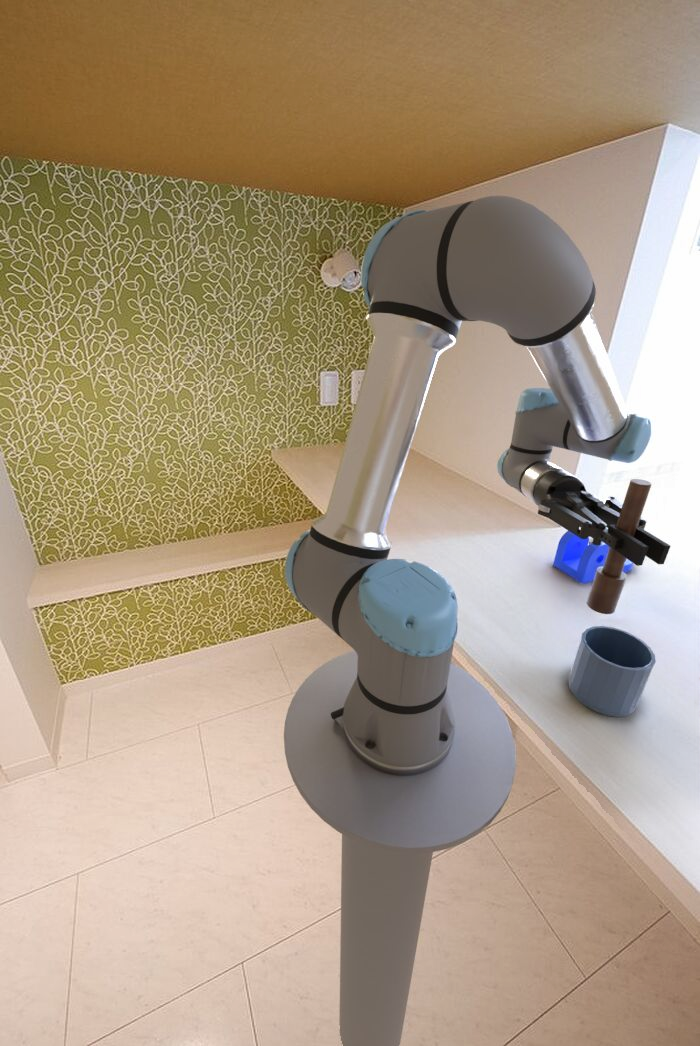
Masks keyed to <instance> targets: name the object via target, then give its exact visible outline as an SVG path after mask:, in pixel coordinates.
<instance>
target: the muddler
mask: <svg viewBox="0 0 700 1046" xmlns="http://www.w3.org/2000/svg"><path fill="white" fill-rule="evenodd" d="M652 484H653V483H652V482H650V481H648V480H645V479H639V478H631V479H630V480H629V484H628V486H627V490H626V493H625V497H624V500H623V503H622V504H623V506H622V509H621V512H620V515H619V519H618V522H617V525H616V526H617V527H618V528H620V529H621V530H623V531H624V532H626V533H628V534H629V535H631V536H632V537H634V535H635V532H636V529H637V526H638V523H639V520H640V517H642V515H643V511H644V509H645V505H646V503H647V499H648V497H649V493H650V490H651V488H652ZM626 559H627V558H625V557H624V556H623V555H621V554H620V553H618V552H617V551H616V550H614V549H613V548H611V547H609V550H608V554H607V557H606V560H605V563H604V566H601V567H598V568H597V570H596V574H595V577H594V580H593V581H592V583H591V587H590V591H589V594H588V597H587V600H586V605H587V607H588V608H589V609H590V610H592V611H594V612H595V613H597V614H601V615H612V614H615V612H616V609H617V606H618V603H619V599H620V598H621V594H622V591H623V589H624V585H625V583H626V580H627V574H626V572H625V573H624V572H622V571H623V568H624V565H625V562H626Z"/></svg>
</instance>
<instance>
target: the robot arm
mask: <svg viewBox="0 0 700 1046" xmlns="http://www.w3.org/2000/svg"><path fill="white" fill-rule="evenodd" d="M366 247H367V248H366V250H365V252H364V255H363V259H362V263H361V269H360V286H361V287H362V288H363V290H364V292H363V294H362V296H363V298H364V301H365V303H366V306H367V307H368V312H367V315H366V322H367V324H368V327H369V328H370V329H369V330H370V331H371V332H372V334H373V339H372V343H371V347H370V349H369V354H368V358H367V362H366V365H365V369H364V372H363V375H362V380H361V383H360V388H359V389H358V390H359V391H358V394H357V398H356V402H355V406H354V408H353V413H352V415H351V420H350V424H349V428H348V431H347V435H346V439H345V442H344V446H343V450H342V453H341V457H340V460H339V465H338V468H337V472H336V476H335V479H334V483H333V485H332V490H331V493H330V498H329V501H328V505H327V508H326V512H324V513H323V514H322V515H320V516H318V517H316V518H314V519H313V521H312V523H311V526H310V529H308V530H306V531H304V532H303V533H301V534H300V535H299V538H300V539H298V540H295V541H294V542H293V543H292V545H291V546H290V548H289V550H288V552H287V555H286V558H285V563H284V564H285V565H284V577H285V582H286V585H287V587H288V589H289V591H290V593H291V594H292V596H294V597H295V598H296V600H297V602H298V603H299V604H300V605H301V606H302V607H303V608H304V609H305V610H306V611H308V612H309V613H311V614H313V615H314V616H315V617H316V618H317V619H319V620H320V621H321V622H322V623H323V624H324V625H325V626H327V627H328V628H329V630H331V631H332V632H334V634H336V635H337V637H339V638H340V639H342V641H344V642H345V643H346V644H347V645H349V647H351V648H352V650H353V651H354V650H355V651H356V653H357V655H358V665H357V677H356V680H355V682H354V684H353V686H352V688H351V690H350V692H349V694H348V696H347V698H346V701H345V704H344V707H343V708H341V709H339V710H336V711H334V712H332V713H331V717H332V719H333V720H334V719H336V718H338V717H341V716H343V731H344V735H345V738H346V741H347V743H348V745H349V746H350V748H351V749H352V751H353V752H354V753H355V754H356V756H357V757H358V758H360V759H361V760H362V761H363V762H364V763H366V764H367V765H369V766H370V767H372V768H374V769H376V770H379V771H381V772H384V773H387V774H392V775H399V776H409V775H417V774H420V773H424V772H426V771H429V770H431V769H433V768H434V767H436V766H437V765H438V764H440V763H441V762H442V761H443V760H444V759H445V757H446V756H447V755H448V753H449V751H450V749H451V746H452V743H453V738H454V731H455V721H454V714H453V711H452V707H451V702H450V699H449V696H448V692H447V682H448V676H449V670H450V664H451V662H452V657H453V651H454V645H455V640H456V637H457V634H458V627H459V626H458V608H459V607H458V598H457V594H456V593H455V590H454V588H453V587H452V585H451V584H450V581H448V580H447V579H446V577H444V576H443V575H442V574H441V573H440V572H438V571H437V570H435V569H434V568H432V567H431V566H428V565H426V564H425V563H421V562H418V561H415V560H414V561H412V562H408V561H407V559H405V558H390V559H388V558H389V555H390V551H391V548H392V540H391V539H390V537H389V535H388V534H387V531H386V528H387V524H388V521H389V518H390V515H391V512H392V508H393V504H394V501H395V498H396V495H397V491H398V488H399V485H400V482H401V478H402V475H403V472H404V468H405V466H406V463H407V459H408V455H409V452H410V450H411V446H412V443H413V439H414V436H415V433H416V430H417V426H418V423H419V420H420V417H421V414H422V410H423V408H424V403H425V400H426V397H427V394H428V391H429V388H430V384H431V381H432V377H433V374H434V372H435V368H436V365H437V362H438V358H439V356H440V355H441V354H442V353H444V352H445V351H447V350H449V349H450V348H452V347H453V346H454V345H455V344H456V341H457V337H458V335H459V334H458V333H459V332H460V328H461V325H462V322H485V323H490V324H493V325H496V326H498V327H501V328H502V329H503V330H504V331H506V333H507V335H508V336H509V338H510V340H512V342H514V344H516V345H517V346H519V347H523V348H527V350H528V352H529V354H530V355H531V357H532V359H533V360H534V363H535V364H536V366H537V367H538V369H539V371H540V373H541V375H542V376H543V378H544V379H545V381H546V383H547V385H548V388H546V387H530V388H526V389H524V390H522V391H521V392H520V395H519V398H518V403H517V407H516V410H515V413H514V414H515V418H514V423H513V424H514V425H513V429H512V435H511V442H510V446H509V448H507V449H505V450H504V451H503V452H502V454H501V456H500V457H499V458H498V460H497V465H496V466H497V467H496V468H497V473H498V475H499V476H500V477H501V479H503V480H504V482H505V483H506V484H507V485H508V486H510V487H511V488H514V489H515V490H516V491H518V492H519V493H521V494H522V495H523V496H524V497H526V498H527V499H528V500H529V501H531V502H532V503H533V504H534V505H536V506H537V507H538V510H537V515H540V516H543V517H545V518H547V519H549V520H551V521H553V522H554V523H556V524H557V525H558V526H560V527H561V528H563V529H565V530H566V531H570V532H571V533H573V534H574V535H576V536H577V537H579V538H581V539H588V537H589V538H591V539H592V542H591V543H592V544H593V545H597V546H600V545H601V542H603V543H605V544H606V545H608V546H609V547H611V548H613V549H614V550H616V551H617V552H618V553H620V554H621V555H623V556H624V557H625V558H627V559H628V560H630V561H631V562H632V563H633V565H635V566H637V567H639V566H640V567H641V566H643V564H644V561H645V559H646V558H648V559H649V560H651V561H652V562H654V563H656V564H657V565H664V564H665V562H666V559H667V558H668V554H669V551H670V549H671V545H670V544H669V543H667V542H665V541H663V540H662V539H660V538H659V537H657V536H656V535H653V534H651V533H650V532H648V530H647V531H646V530H645V528H646V525H647V520H646V519H645V518H643V517H642V516H641V517H640V520H639V523H638V526H637V529H636V532H635V535H634V537H632V536H631V535H629V534H628V533H626V532H624V531H623V530H621V529H620V528H618V527H617V526H616V525H617V522H618V519H619V515H620V512H621V509H622V506H623V503H621V502H620V501H619V499H618V498H617V497H615V496H613V495H609V496H608V497H607V498H606V499H599V497H598V496H597V495H595V494H592V493H591V492H588V491H587V489H586V487H585V483H583V481H582V480H581V479H580V478H579V477H577V476H575V475H573V474H572V473H569V471H566V470H565V469H564V468H562V467H559V466H557V465H556V464H554V463H552V462H551V461H550V458H551V454H552V452H553V448H559V449H563V450H567V451H572V452H575V453H580V454H584V455H587V456H592V457H596V458H601V459H604V460H607V461H610V462H611V461H614V462H619V463H625V464H631V463H632V464H633V463H635V462H636V461H638V460H639V459H640V458H641V456H642V455H644V452H645V450H646V449H647V447H648V445H649V442H650V440H651V436H652V434H653V433H652V432H653V423H652V421H651V419H650V418H648V417H647V416H642V415H638V414H637V413H632V414H631V413H629V412H628V410H627V408H626V404H625V402H624V399H623V397H622V394H621V391H620V389H619V385H618V382H617V379H616V376H615V374H614V371H613V368H612V365H611V362H610V360H609V357H608V354H607V351H606V348H605V345H604V342H603V340H602V337H601V334H600V331H599V328H598V325H597V322H596V319H595V317H594V314H593V308H594V306H595V303H596V299H597V288H596V285H595V284H596V283H595V282H594V278H593V276H592V273H591V270H590V268H589V265H588V263H587V261H586V258H584V256H583V253H582V252H581V251H580V249H579V248H578V247H577V245H576V243H574V241H573V239H572V238H571V237H570V236H569V235H568V234H567V232H566V231H565V230H564V229H563V228H562V227H561V226H560V225H559V224H558V223H557V222H556V221H555V220H554V219H552V218H551V216H549V215H548V214H546V213H545V212H544V211H542V210H541V209H539V208H538V207H537V206H535V205H533V204H531V203H529V202H527V201H524V200H522V199H519V198H517V197H516V198H515V197H513V196H507V195H489V196H484V197H481V198H476V199H475V200H470V201H465V202H461V203H457V204H452V205H448V206H443V207H438V208H435V209H432V210H431V209H429V210H427V209H420V210H414V211H409V212H407V213H405V214H403V215H402V216H399V217H396V218H393V219H391V220H390V221H388V222H387V223H385V224H384V225H382V226H380V228H379V229H378V230H377V231H376V232H375V234H373V237H372V238H371V240H370V241H369V243H368V245H367V246H366ZM606 527H607V528H608V529H607V528H606Z"/></svg>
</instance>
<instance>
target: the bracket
mask: <svg viewBox="0 0 700 1046" xmlns="http://www.w3.org/2000/svg"><path fill="white" fill-rule="evenodd" d="M589 542H590V537H588V539H581V538H579V537H577V536H576V535H574V534H573V533H571V532H570V531H568V530H566V532H565V533H564V534H563V535H562V536H561V538H560V539H559V541H558V544H557V547H556V550H555V551H556V552H555V556H554V559H553V564H552V566H554V567H555V568H557V570H560V571H561V572H563V573H564V574H565V575H568V576H569V577H571V578H572V579H574V580H575V581H577V582H578V583H580V584H583V585H584V584H586V583H590V582H593V580H594V577H595V574H596V570H597V568H598V567H601V566H604V563H605V560H606V557H607V554H608V550H609V546H608V545H606V544H605V543H603V542H601V545H600V546H597V545H593V544H592V542H590V543H589ZM633 566H634V563H632V562H631V561H630V560H628V559H626V562H625V565H624V568H623V571H622V572H624V573H625V574H626V573H628V572H630V571H631V570H632V569H633Z"/></svg>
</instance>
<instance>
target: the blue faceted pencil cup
mask: <svg viewBox="0 0 700 1046" xmlns="http://www.w3.org/2000/svg"><path fill="white" fill-rule="evenodd" d="M656 662H657V661H656V654H655V653H654V651H653V649H652V647H650V646H649V645H648V644H647V643H646V642H645V641H644V640H642V639H641V638H640V637H637V636H636V635H635V634H633V633H630V632H628V631H626V630H623V629H620V628H617V627H613V626H606V625H594V626H590V627H587V628H585V629H584V631H583V632H582V633H581V636H580V639H579V642H578V645H577V648H576V651H575V655H574V658H573V662H572V665H571V668H570V671H569V675H568V679H567V685H568V687H569V690H570V692H571V694H572V696H574V697H575V698H576V699H577V701H579V702H580V703H581V704H582V705H584V706H585V707H587V708H589V710H592V711H594V712H596V713H599V714H601V715H603V716H607V717H612V718H613V717H616V718H623V717H627V716H629V715H631V714H633V713H634V712H635V710H636V708H637V706H638V705H639V702H640V700H641V697H642V695H643V694H644V691H645V688H646V686H647V683H648V681H649V679H650V676H651V674H652V672H653V669H654V667H655V664H656Z"/></svg>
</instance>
